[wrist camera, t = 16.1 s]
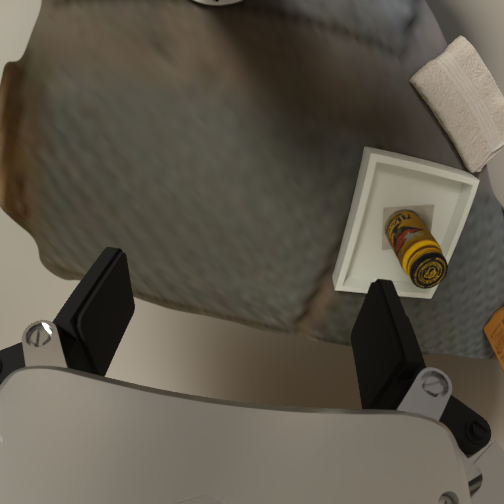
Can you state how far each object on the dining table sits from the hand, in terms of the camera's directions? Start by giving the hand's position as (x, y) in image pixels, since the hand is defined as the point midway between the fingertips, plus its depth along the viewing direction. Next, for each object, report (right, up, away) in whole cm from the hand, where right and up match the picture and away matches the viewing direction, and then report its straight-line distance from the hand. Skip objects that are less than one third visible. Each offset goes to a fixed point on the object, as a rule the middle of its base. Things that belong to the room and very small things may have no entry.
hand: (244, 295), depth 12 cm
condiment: (+24, +5, +33) cm, 41 cm away
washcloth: (+31, +23, +23) cm, 45 cm away
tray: (+23, +6, +34) cm, 42 cm away
